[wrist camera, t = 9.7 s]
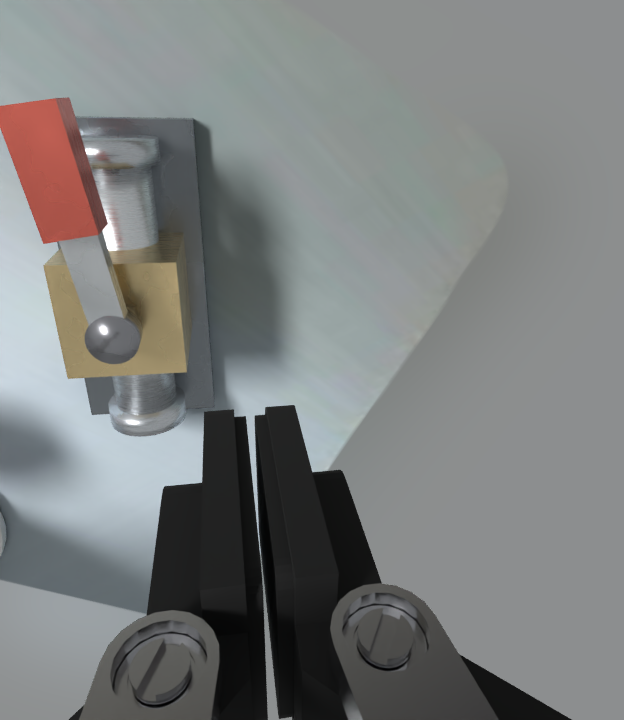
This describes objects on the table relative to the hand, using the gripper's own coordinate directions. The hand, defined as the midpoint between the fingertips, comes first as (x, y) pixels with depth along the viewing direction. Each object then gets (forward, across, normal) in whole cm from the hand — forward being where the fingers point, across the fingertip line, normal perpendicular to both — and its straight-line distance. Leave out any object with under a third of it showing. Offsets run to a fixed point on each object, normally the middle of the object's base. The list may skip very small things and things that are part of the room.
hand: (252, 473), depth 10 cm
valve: (+24, +6, +4) cm, 25 cm away
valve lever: (+16, +6, -1) cm, 18 cm away
